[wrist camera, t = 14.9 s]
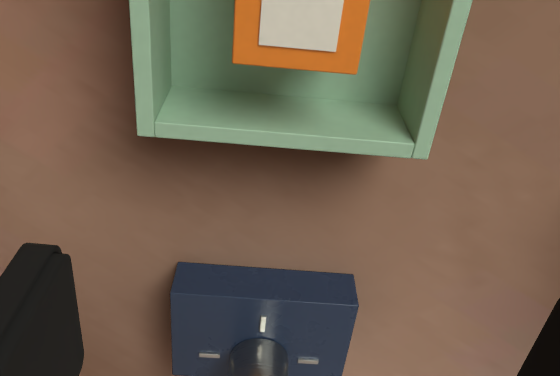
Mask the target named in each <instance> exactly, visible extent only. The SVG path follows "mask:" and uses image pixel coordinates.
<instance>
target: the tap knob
mask: <svg viewBox="0 0 560 376" xmlns="http://www.w3.org/2000/svg"><path fill="white" fill-rule="evenodd" d="M228 376H288V354H287V352H286V350H285V349H284V348H283V347H282V346H281V345H280V344H278V343H276V342H274V341H272V340H268V339H262V338H255V339H249V340H245V341H243V342H241V343H239V344H238V345H236V346H235V347H234V348H233V350H232V352H231V354H230V362H229V372H228Z"/></svg>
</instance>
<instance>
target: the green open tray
mask: <svg viewBox="0 0 560 376" xmlns="http://www.w3.org/2000/svg"><path fill="white" fill-rule="evenodd" d="M234 3H235V0H129V11H130V27H131V43H132V59H133V75H134V91H135V108H136V124H137V135H138V136H145V137H158V138H170V139H182V140H194V141H206V142H218V143H231V144H243V145H255V146H267V147H279V148H291V149H303V150H315V151H327V152H339V153H351V154H363V155H375V156H387V157H399V158H414V159H428V156H429V152H430V149H431V145H432V142H433V138H434V135H435V131H436V127H437V124H438V120H439V117H440V113H441V110H442V106H443V103H444V99H445V96H446V92H447V89H448V85H449V82H450V78H451V74H452V71H453V67H454V64H455V60H456V57H457V53H458V50H459V46H460V43H461V39H462V36H463V32H464V29H465V25H466V21H467V18H468V14H469V11H470V7H471V4H472V0H370V5H369V11H368V16H367V22H366V28H365V33H364V39H363V44H362V50H361V55H360V61H359V66H358V72H357V74H356V75H351V74H340V73H329V72H318V71H307V70H296V69H285V68H274V67H263V66H252V65H241V64H233V63H232V47H233V25H234Z"/></svg>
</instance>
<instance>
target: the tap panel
mask: <svg viewBox="0 0 560 376" xmlns="http://www.w3.org/2000/svg"><path fill="white" fill-rule="evenodd" d="M170 304H171V339H172V374H173V375H183V376H228V372H229V362H230V354H231V352H232V350H233V348H234V347H235V346H236V345H238V344H239V343H241V342H243V341H245V340H249V339H255V338H262V339H268V340H272V341H274V342H276V343H278V344H280V345H281V346H282V347H283V348H284V349H285V350H286V352H287V354H288V376H342V373H343V369H344V364H345V360H346V356H347V352H348V348H349V344H350V340H351V336H352V332H353V328H354V323H355V319H356V315H357V311H358V307H359V304H358V299H357V293H356V287H355V281H354V276H353V274H340V273H326V272H312V271H298V270H284V269H270V268H256V267H242V266H228V265H214V264H200V263H186V262H178V264H177V268H176V272H175V276H174V280H173V284H172V288H171V292H170Z"/></svg>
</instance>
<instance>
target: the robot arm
mask: <svg viewBox="0 0 560 376" xmlns="http://www.w3.org/2000/svg"><path fill="white" fill-rule="evenodd" d="M83 358H84V349H83V342H82V335H81V328H80V321H79V313H78V306H77V299H76V292H75V285H74V278H73V271H72V264H71V258H70V256H69V255H68V254H62V252H61V249H60V247H59V246H57V245H46V244H35V243H25V244H23V245H22V246H21V247H20V249H19V250H18V252H17V253H16V255H15V256H14V258H13V259H12V260H11V262H10V263H9V265H8V266H7V268H6V269H5V271H4V272H3V274H2V275H1V277H0V376H79V374H80V371H81V368H82V364H83ZM517 376H560V298H559V300H558V301H557V303H556V305H555V306H554V308H553V310H552V312H551V314H550V316H549V317H548V319H547V321H546V323H545V325H544V327H543V328H542V330H541V332H540V334H539V336H538V338H537V339H536V341H535V343H534V345H533V347H532V349H531V350H530V352H529V354H528V356H527V358H526V360H525V361H524V363H523V365H522V367H521V369H520V371H519V372H518V374H517Z"/></svg>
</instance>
